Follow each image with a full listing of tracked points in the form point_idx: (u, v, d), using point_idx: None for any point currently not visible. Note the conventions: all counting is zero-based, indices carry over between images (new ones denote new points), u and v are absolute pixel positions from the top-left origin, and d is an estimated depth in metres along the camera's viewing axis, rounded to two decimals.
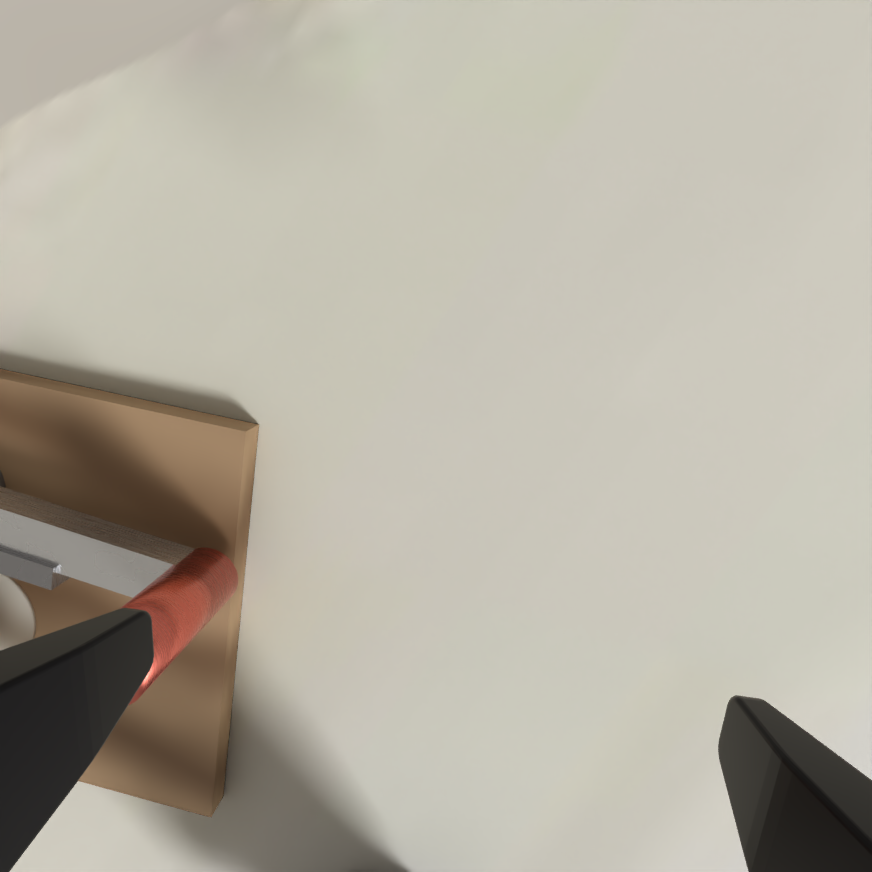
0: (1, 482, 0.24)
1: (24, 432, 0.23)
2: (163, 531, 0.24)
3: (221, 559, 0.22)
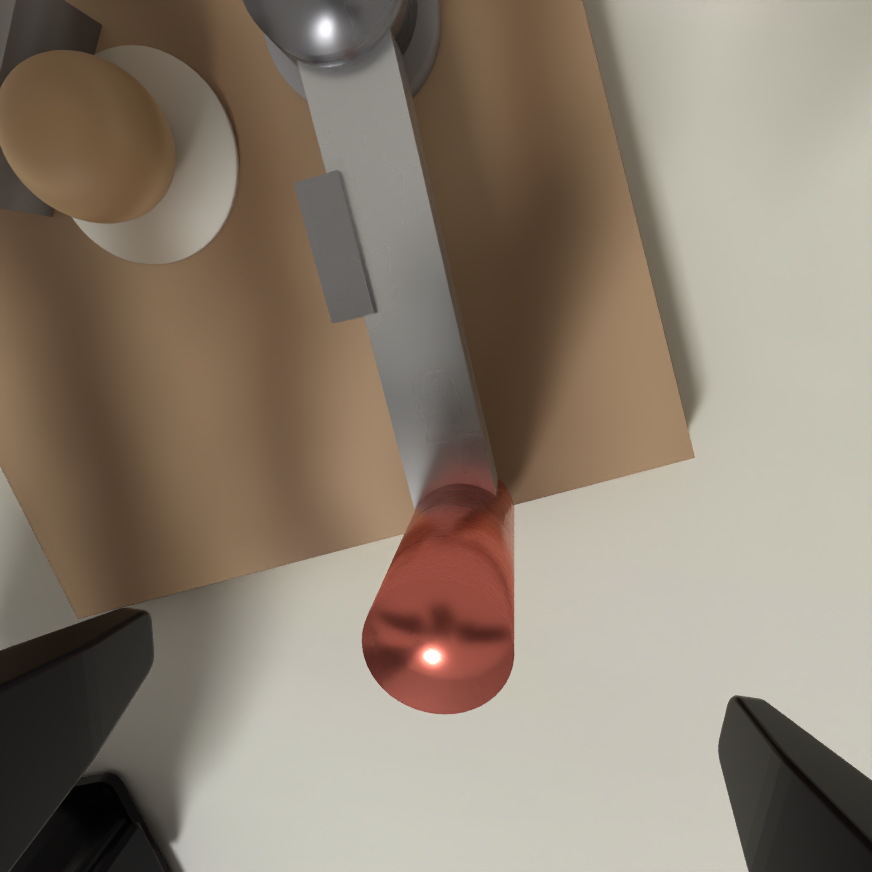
0: None
1: (511, 110, 0.13)
2: None
3: None
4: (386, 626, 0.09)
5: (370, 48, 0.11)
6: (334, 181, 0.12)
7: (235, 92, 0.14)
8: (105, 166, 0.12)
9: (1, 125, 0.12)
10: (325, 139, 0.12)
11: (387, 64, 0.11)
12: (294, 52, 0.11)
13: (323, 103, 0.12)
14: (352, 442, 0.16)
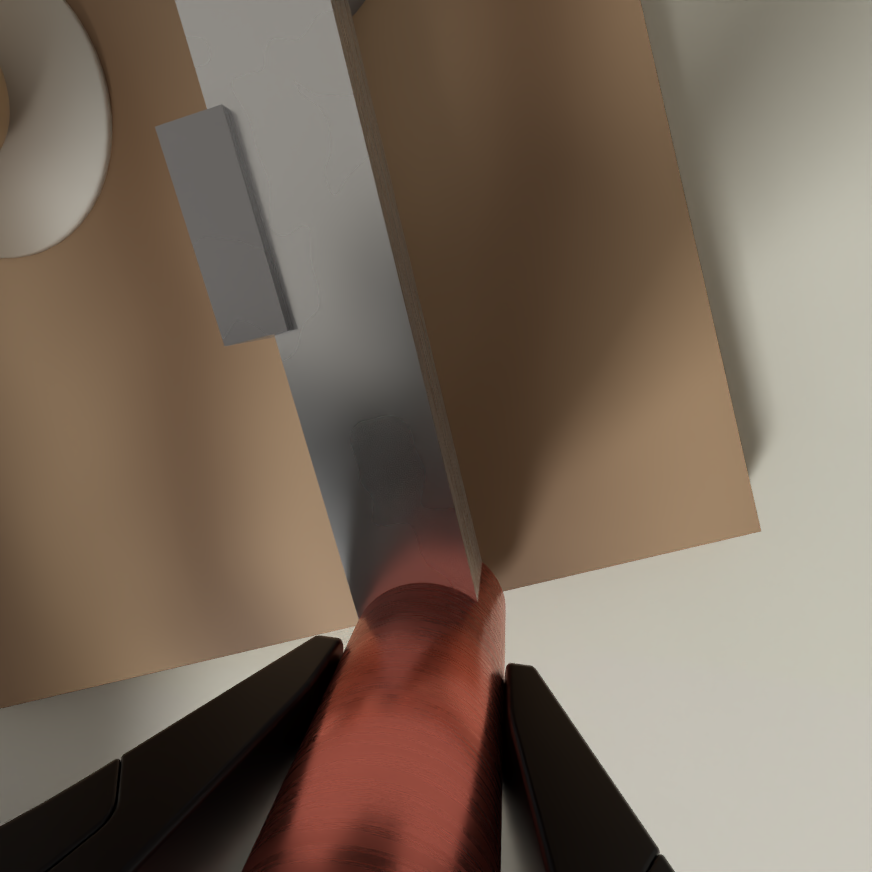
0: None
1: (499, 28, 0.09)
2: None
3: None
4: None
5: None
6: (218, 123, 0.07)
7: (101, 8, 0.10)
8: None
9: None
10: (204, 57, 0.07)
11: None
12: None
13: None
14: (283, 503, 0.12)
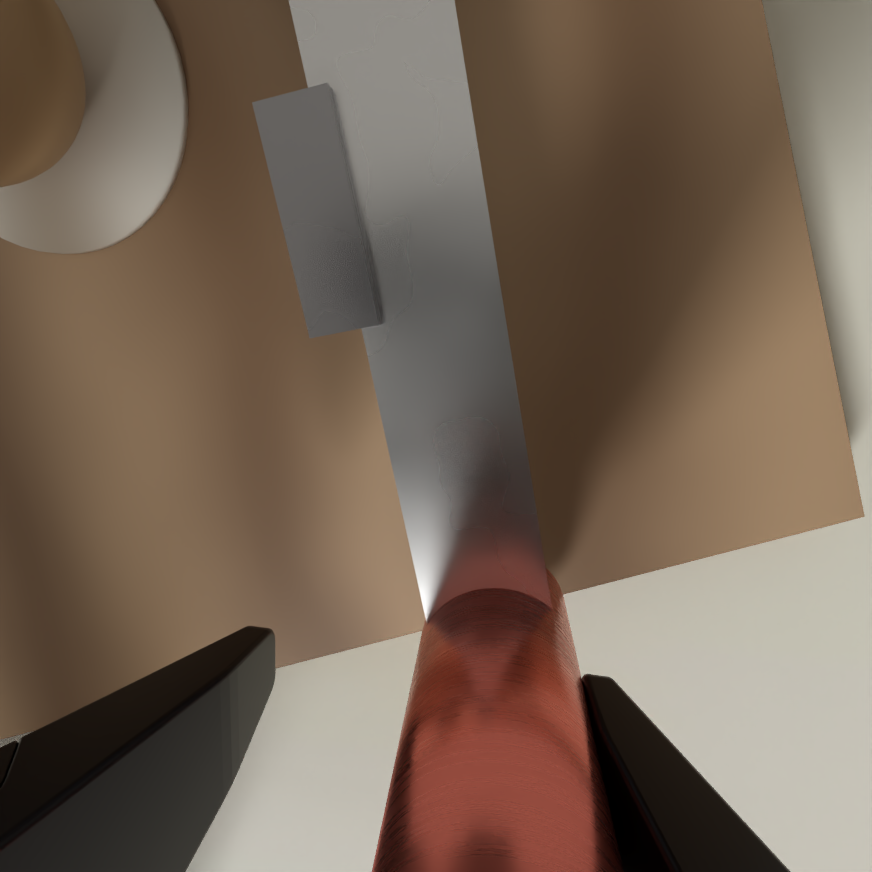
0: None
1: (605, 1, 0.09)
2: (537, 440, 0.11)
3: None
4: None
5: None
6: (321, 103, 0.07)
7: None
8: None
9: None
10: (308, 31, 0.07)
11: None
12: None
13: None
14: (366, 503, 0.11)
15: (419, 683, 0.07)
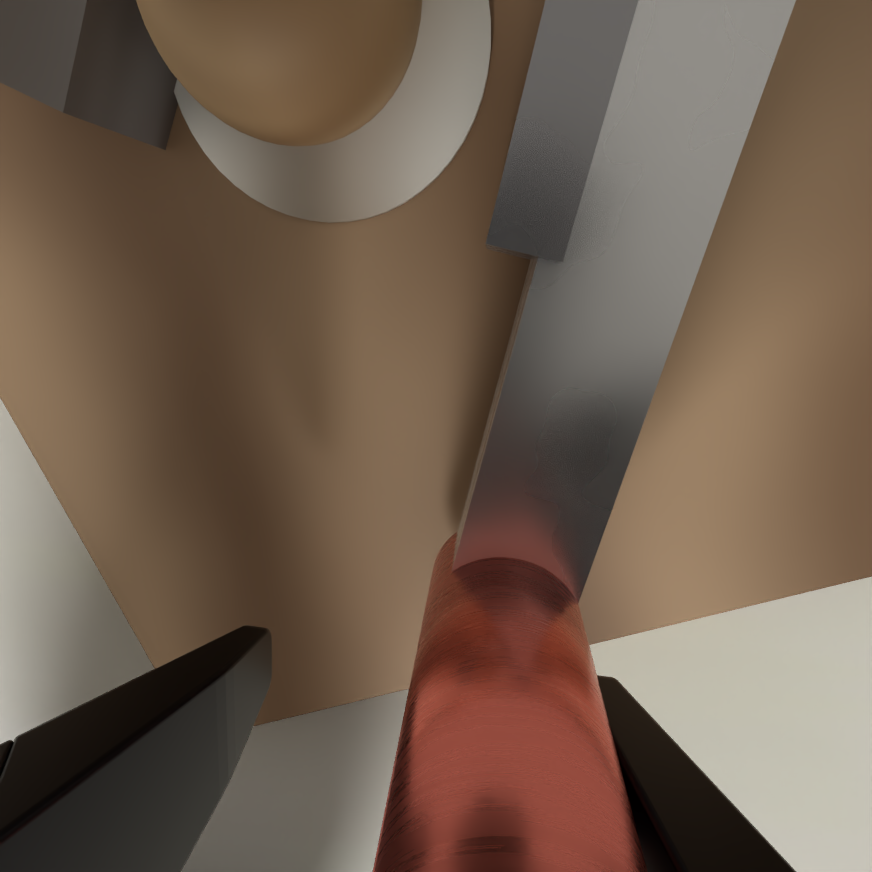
0: None
1: None
2: (839, 419, 0.10)
3: None
4: None
5: None
6: (624, 3, 0.06)
7: None
8: (350, 15, 0.06)
9: None
10: None
11: None
12: None
13: None
14: (638, 488, 0.10)
15: (454, 629, 0.07)
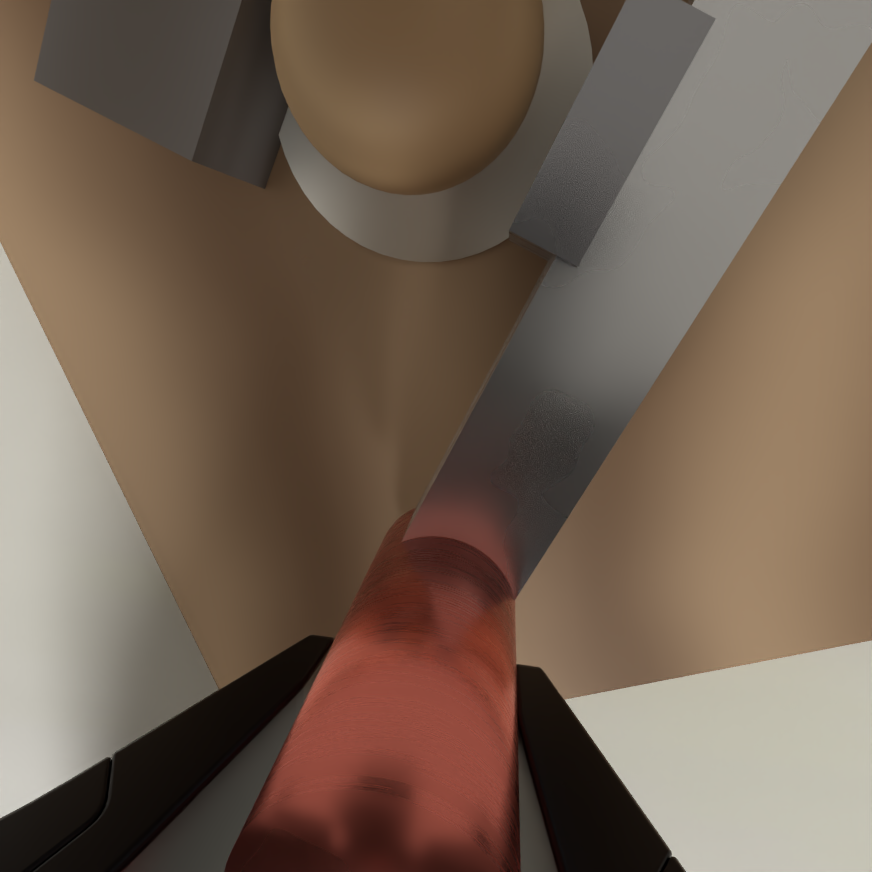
0: None
1: None
2: None
3: None
4: (313, 838, 0.04)
5: None
6: (694, 32, 0.06)
7: None
8: (488, 82, 0.06)
9: None
10: None
11: None
12: None
13: None
14: (713, 529, 0.11)
15: (391, 592, 0.07)
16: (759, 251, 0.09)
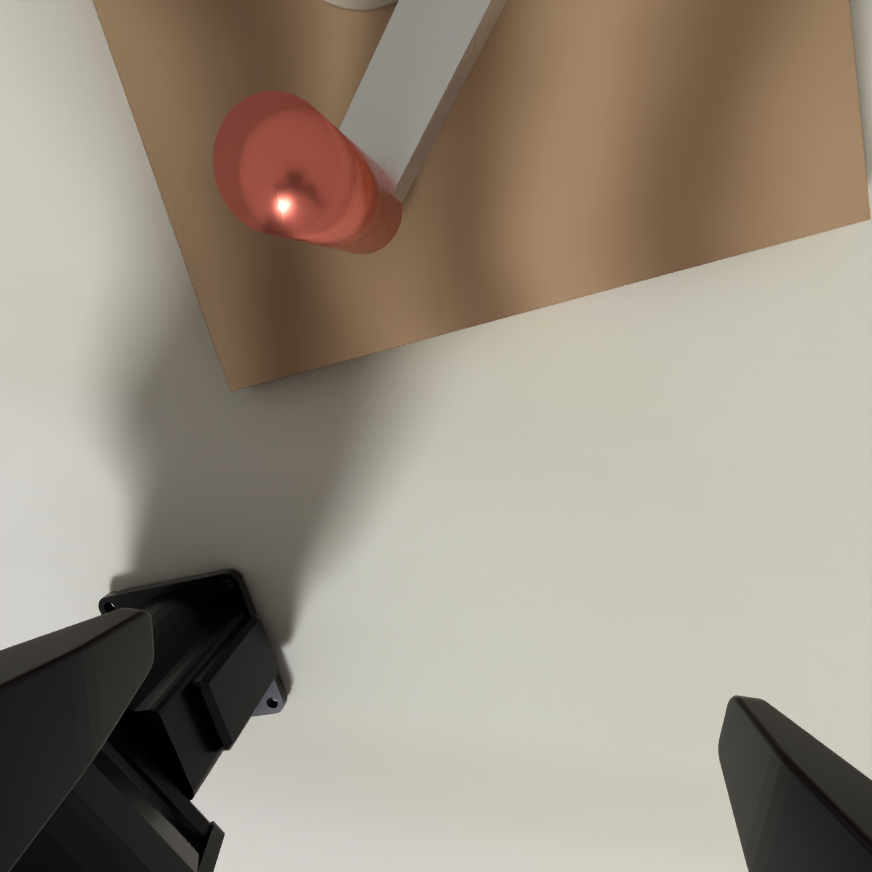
0: None
1: None
2: (656, 157, 0.16)
3: (382, 245, 0.16)
4: (253, 117, 0.10)
5: None
6: None
7: None
8: None
9: None
10: None
11: None
12: None
13: None
14: (532, 202, 0.17)
15: None
16: (556, 6, 0.15)
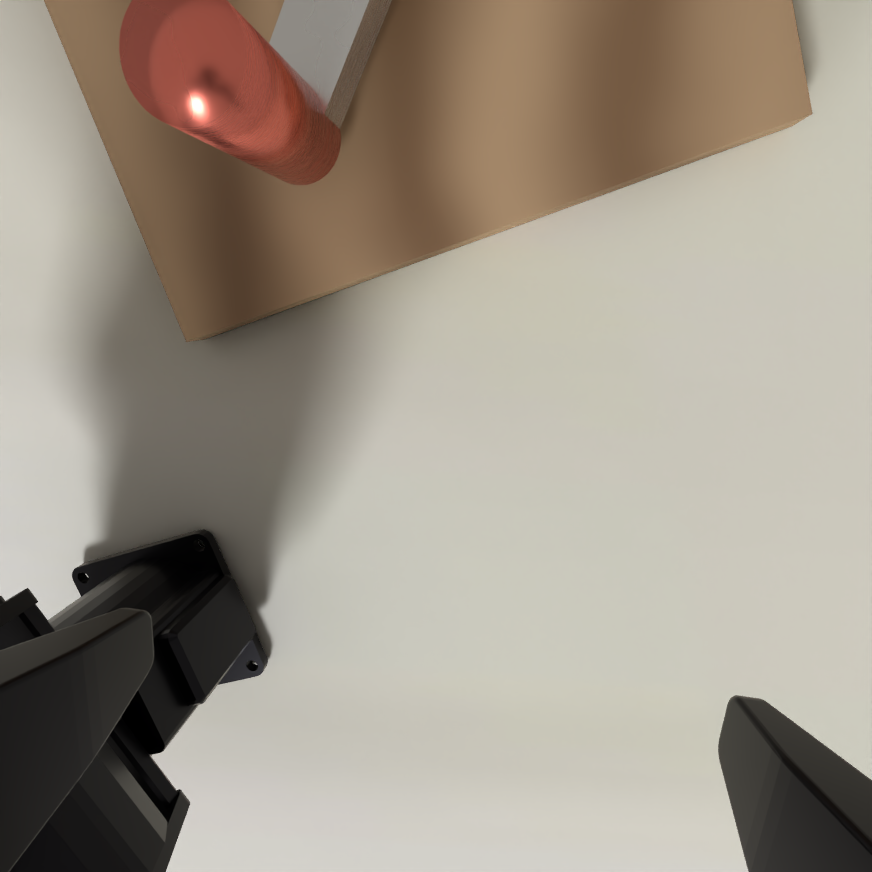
0: None
1: None
2: (592, 66, 0.16)
3: (322, 172, 0.16)
4: (156, 4, 0.10)
5: None
6: None
7: None
8: None
9: None
10: None
11: None
12: None
13: None
14: (472, 122, 0.16)
15: None
16: None
